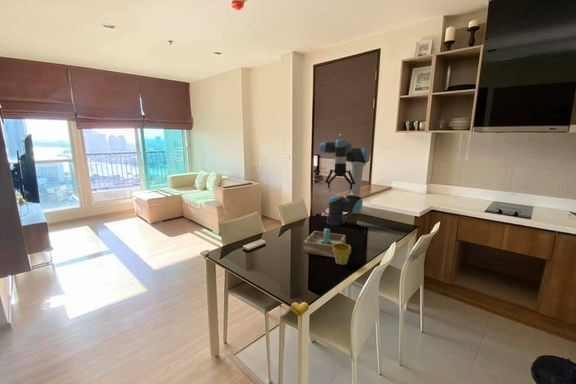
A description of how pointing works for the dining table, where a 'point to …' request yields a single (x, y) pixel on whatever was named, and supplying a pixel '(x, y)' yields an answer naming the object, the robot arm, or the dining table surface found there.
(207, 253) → the dining table surface
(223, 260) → the dining table surface
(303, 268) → the dining table surface
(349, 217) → the dining table surface
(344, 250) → the plant pot
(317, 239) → the box
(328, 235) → the peg
